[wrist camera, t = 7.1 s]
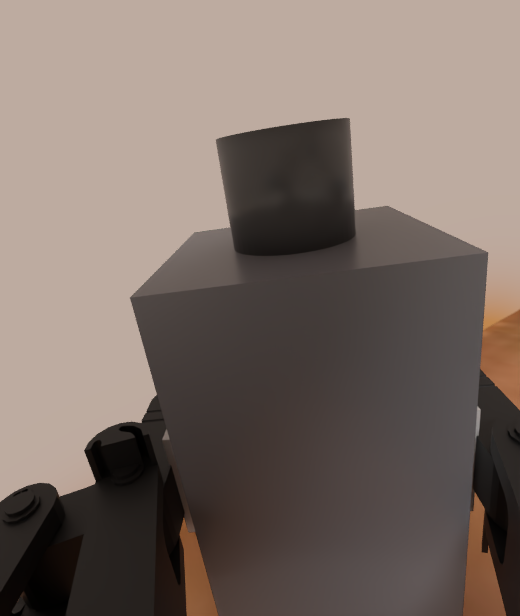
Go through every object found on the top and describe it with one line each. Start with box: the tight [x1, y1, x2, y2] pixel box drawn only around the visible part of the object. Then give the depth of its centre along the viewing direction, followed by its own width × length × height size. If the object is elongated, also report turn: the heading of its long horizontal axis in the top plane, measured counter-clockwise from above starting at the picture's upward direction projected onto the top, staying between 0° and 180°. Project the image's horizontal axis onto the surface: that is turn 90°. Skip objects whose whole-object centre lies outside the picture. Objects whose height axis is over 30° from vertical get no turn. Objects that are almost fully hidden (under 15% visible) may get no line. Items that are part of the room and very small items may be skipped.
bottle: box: [130, 118, 488, 616], centre depth 10 cm, size 5×5×14 cm
